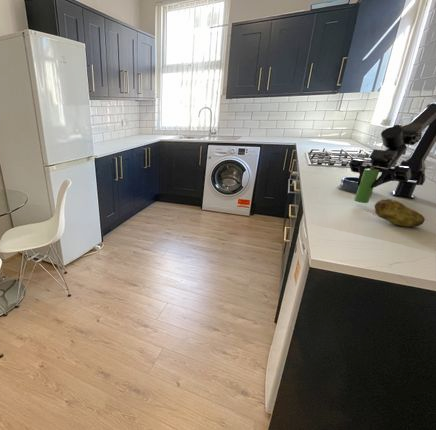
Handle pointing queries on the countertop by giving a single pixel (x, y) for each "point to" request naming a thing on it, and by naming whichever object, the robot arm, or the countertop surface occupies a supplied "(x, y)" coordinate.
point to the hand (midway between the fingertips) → (364, 185)
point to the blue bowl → (349, 184)
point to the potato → (398, 213)
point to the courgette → (366, 185)
